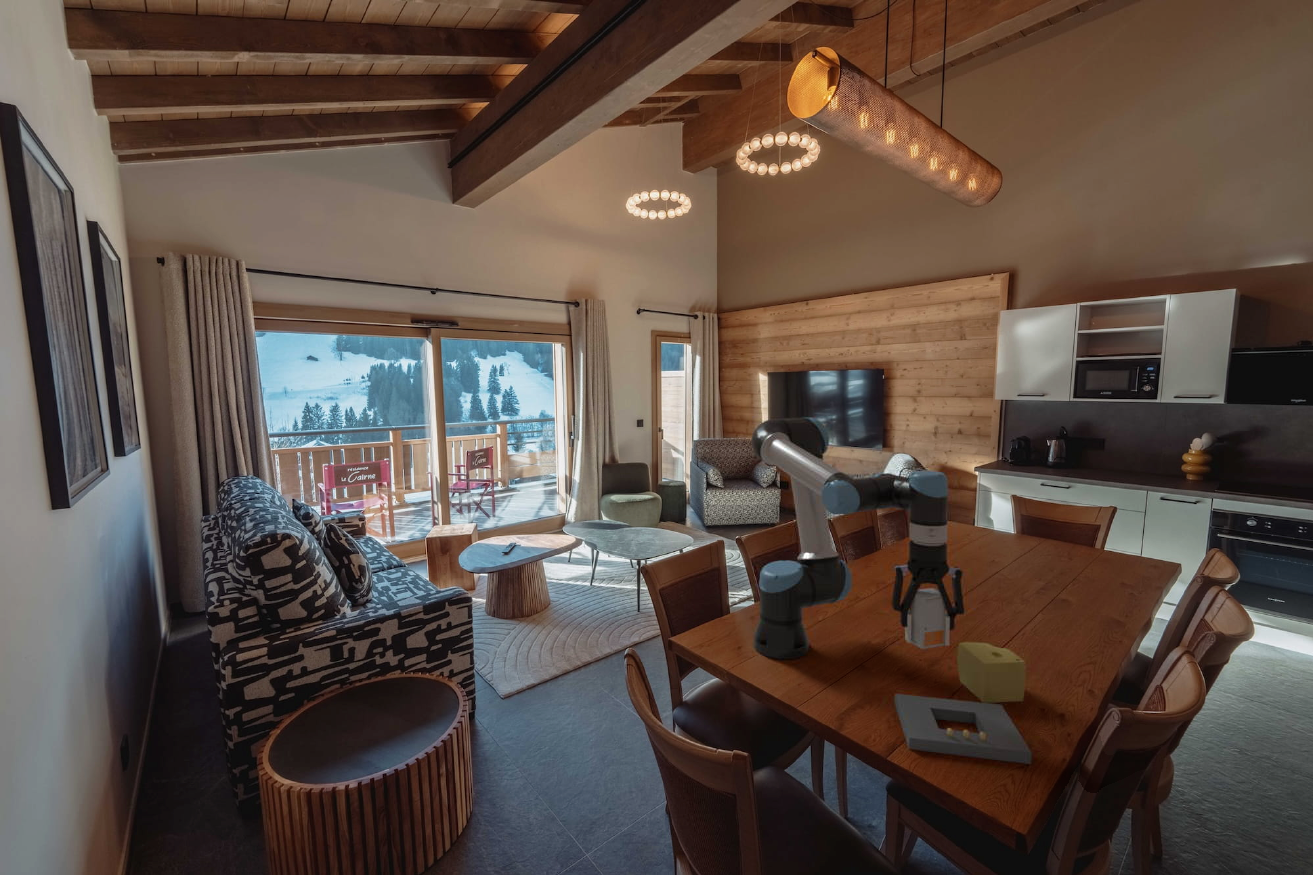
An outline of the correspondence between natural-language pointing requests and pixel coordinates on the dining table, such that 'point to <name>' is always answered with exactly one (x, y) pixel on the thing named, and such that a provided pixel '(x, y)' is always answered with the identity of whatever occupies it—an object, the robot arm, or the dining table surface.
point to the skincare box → (927, 619)
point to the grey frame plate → (990, 719)
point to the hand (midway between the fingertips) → (926, 641)
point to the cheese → (991, 672)
